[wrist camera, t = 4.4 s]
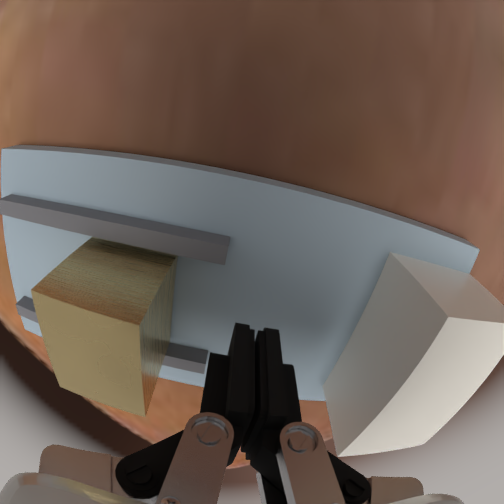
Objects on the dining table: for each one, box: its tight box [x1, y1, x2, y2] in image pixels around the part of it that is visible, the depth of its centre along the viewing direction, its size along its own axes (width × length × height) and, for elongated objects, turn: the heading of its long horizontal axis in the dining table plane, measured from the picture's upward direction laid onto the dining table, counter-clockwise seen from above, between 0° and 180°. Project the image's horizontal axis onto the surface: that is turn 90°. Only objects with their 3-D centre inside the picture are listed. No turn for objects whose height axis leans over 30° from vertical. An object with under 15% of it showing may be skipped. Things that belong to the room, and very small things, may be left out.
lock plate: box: [0, 145, 480, 401], centre depth 13 cm, size 12×26×2 cm, turn 77°
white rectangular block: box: [322, 252, 504, 457], centre depth 11 cm, size 9×6×5 cm, turn 167°
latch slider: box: [31, 237, 178, 417], centre depth 10 cm, size 5×4×5 cm
